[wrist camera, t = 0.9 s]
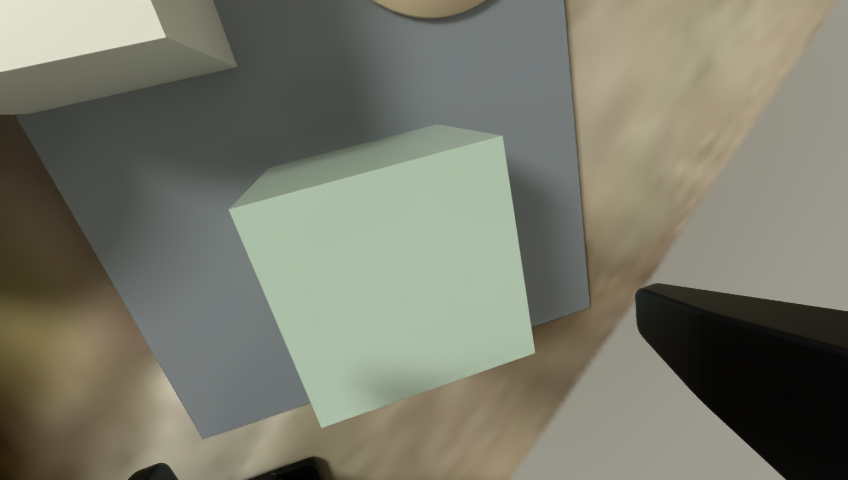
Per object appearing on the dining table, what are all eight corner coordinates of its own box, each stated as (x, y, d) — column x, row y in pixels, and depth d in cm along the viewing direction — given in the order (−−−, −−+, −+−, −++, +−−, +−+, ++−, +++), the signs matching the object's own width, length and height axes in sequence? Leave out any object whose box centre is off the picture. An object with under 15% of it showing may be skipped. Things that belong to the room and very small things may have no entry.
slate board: (583, 302, 23) (589, 307, 22) (206, 429, 20) (202, 439, 19) (523, -360, 13) (531, -380, 13) (-203, -291, 11) (-233, -313, 10)
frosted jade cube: (467, 271, 20) (535, 353, 13) (324, 316, 19) (321, 428, 12) (437, 124, 17) (502, 135, 11) (268, 167, 16) (228, 209, 10)
